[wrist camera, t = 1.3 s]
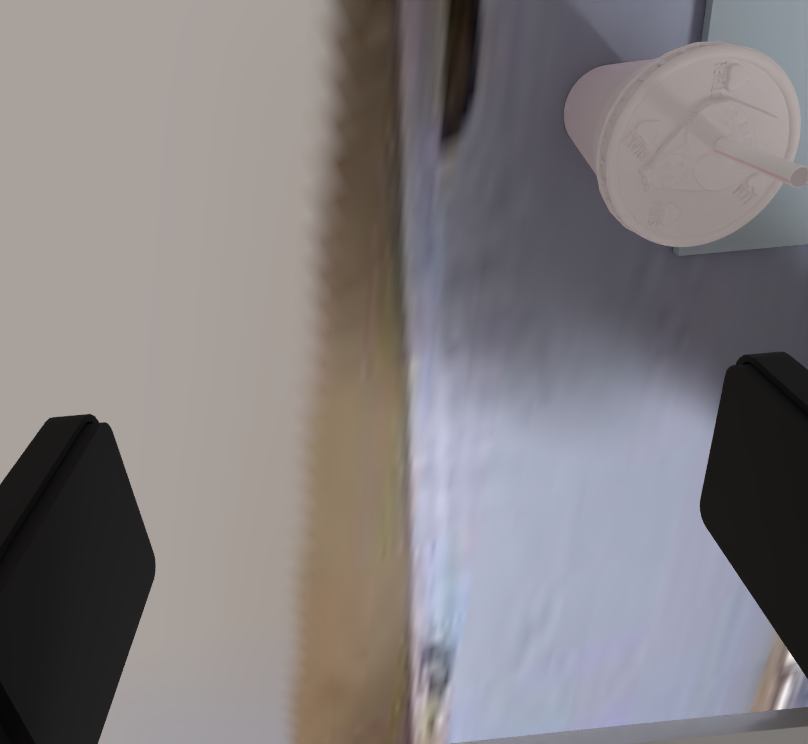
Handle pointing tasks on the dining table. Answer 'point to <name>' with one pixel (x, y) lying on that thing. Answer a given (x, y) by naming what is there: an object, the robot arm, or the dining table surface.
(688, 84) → the smoothie
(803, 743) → the robot arm
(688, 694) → the dining table surface
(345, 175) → the dining table surface
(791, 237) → the mat
